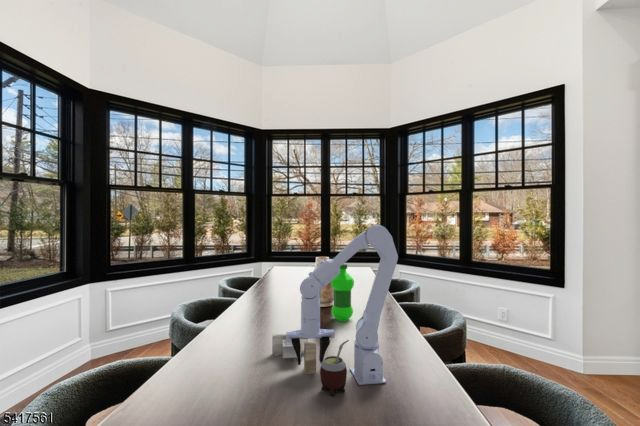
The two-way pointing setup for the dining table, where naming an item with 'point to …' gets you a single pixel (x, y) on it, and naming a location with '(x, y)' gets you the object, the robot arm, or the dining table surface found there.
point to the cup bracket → (285, 346)
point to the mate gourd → (333, 373)
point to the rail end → (309, 357)
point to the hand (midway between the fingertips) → (310, 362)
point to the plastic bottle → (342, 295)
